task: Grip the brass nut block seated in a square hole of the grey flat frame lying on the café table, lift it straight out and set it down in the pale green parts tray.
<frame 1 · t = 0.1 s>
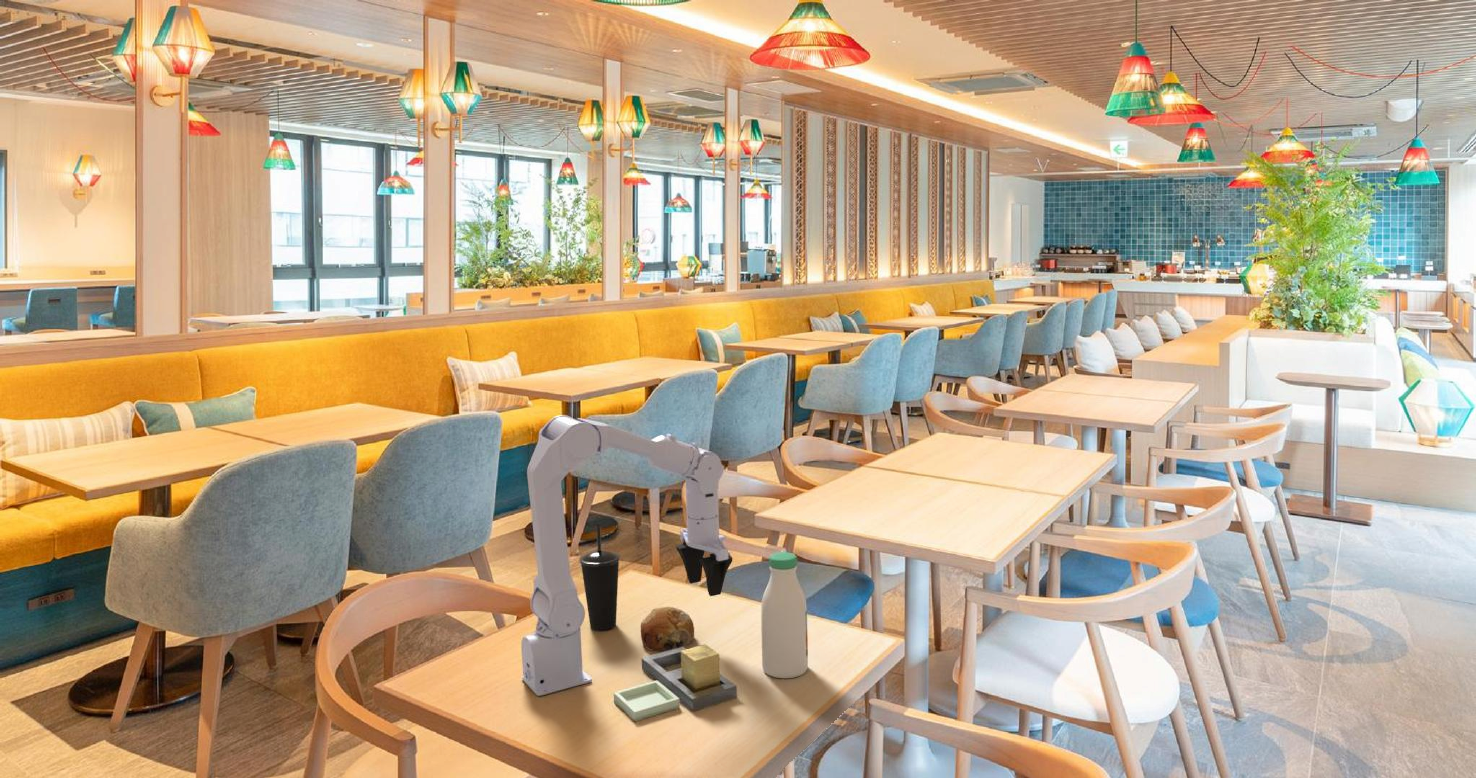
hand: (704, 588, 171), 10 cm above the table, tool pointing down, fingers open, 7 cm apart
drinking cup: (603, 627, 181), on the table
tray: (646, 704, 149), on the table
milk bottle: (785, 670, 160), on the table
bread roll: (667, 642, 173), on the table
grey flat frame: (687, 682, 156), on the table
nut: (701, 693, 153), resting in grey flat frame
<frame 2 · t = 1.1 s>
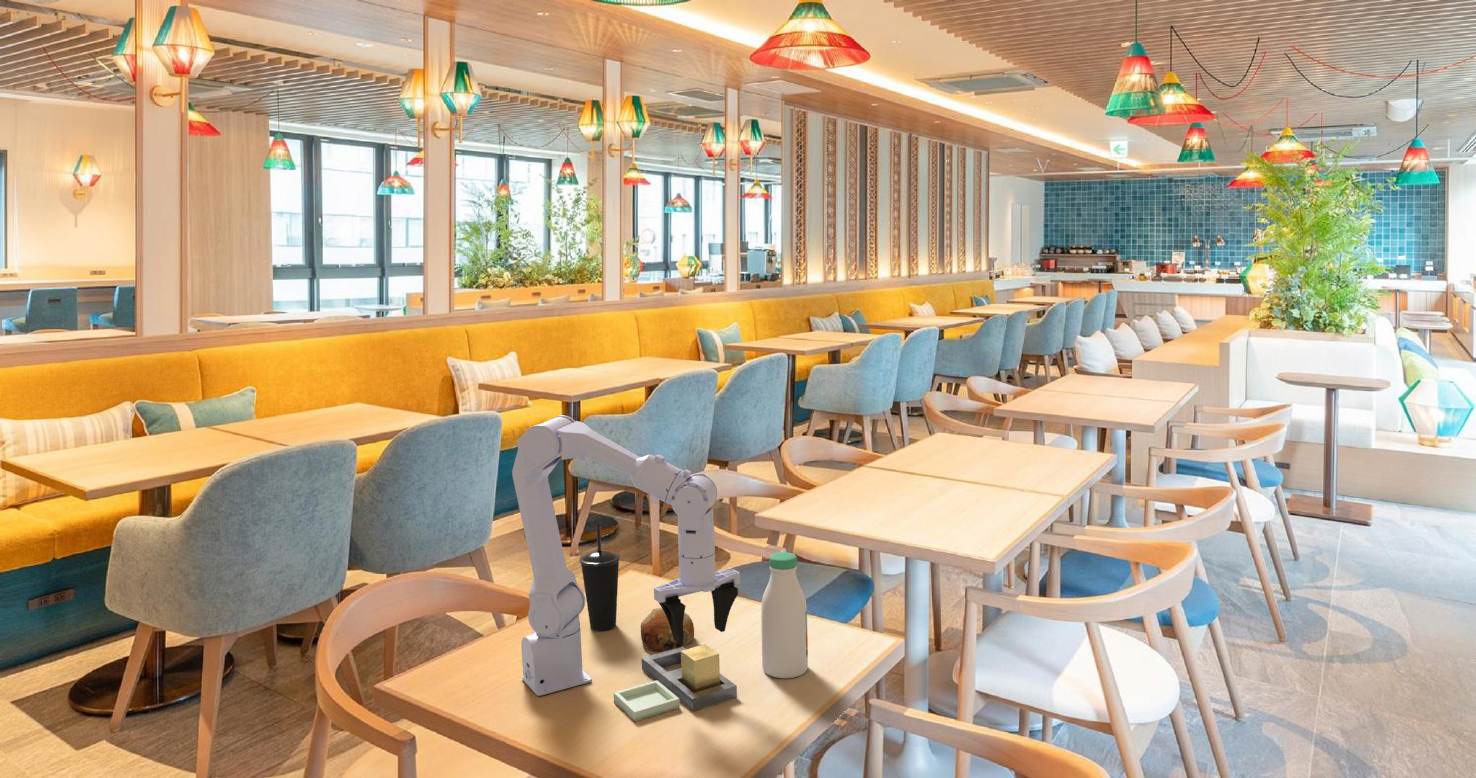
hand: (699, 635, 151), 10 cm above the table, tool pointing down, fingers open, 7 cm apart
nothing on the table moved.
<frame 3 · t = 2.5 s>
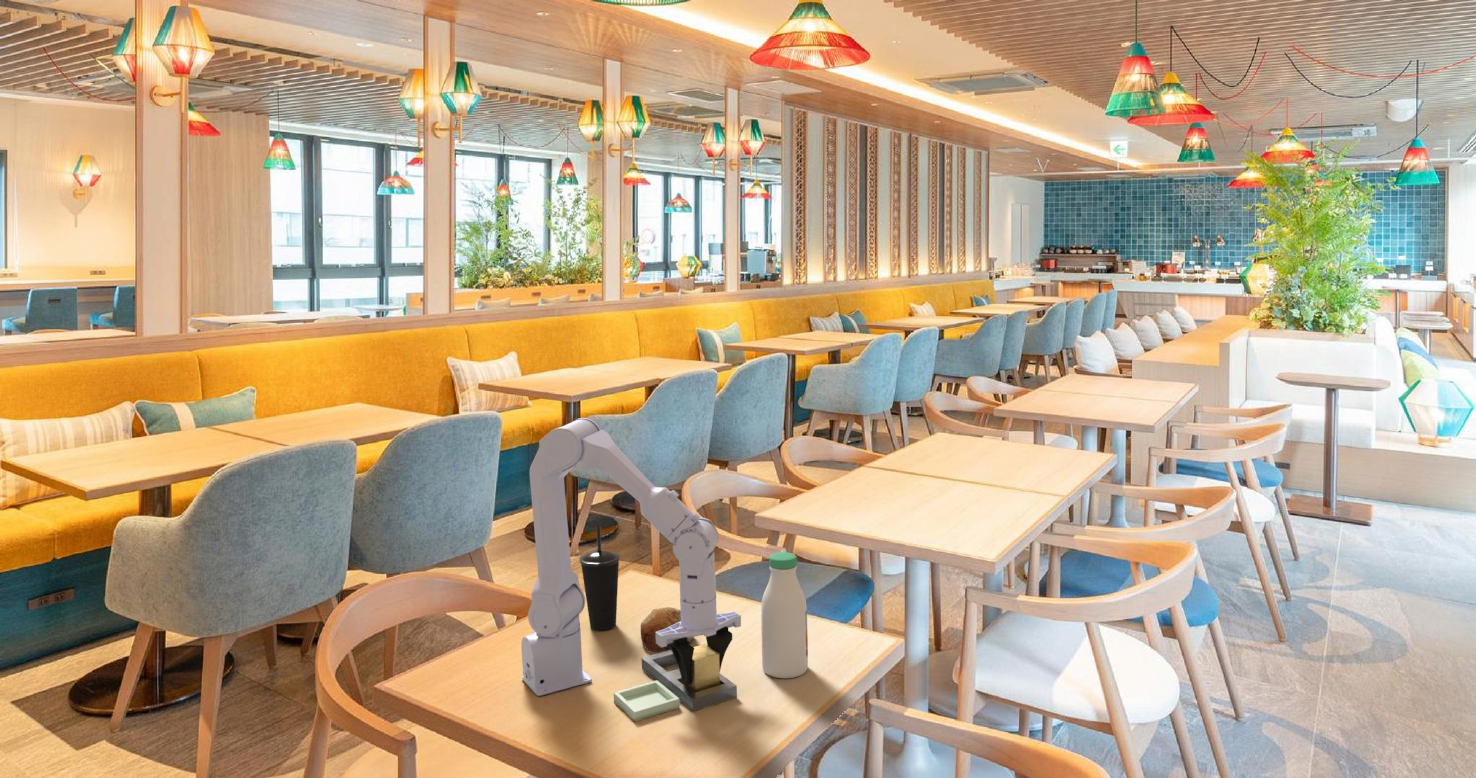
hand: (700, 677, 152), 3 cm above the table, tool pointing down, fingers closed on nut, 4 cm apart
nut: (701, 693, 153), resting in grey flat frame, touching gripper
everything else where it was.
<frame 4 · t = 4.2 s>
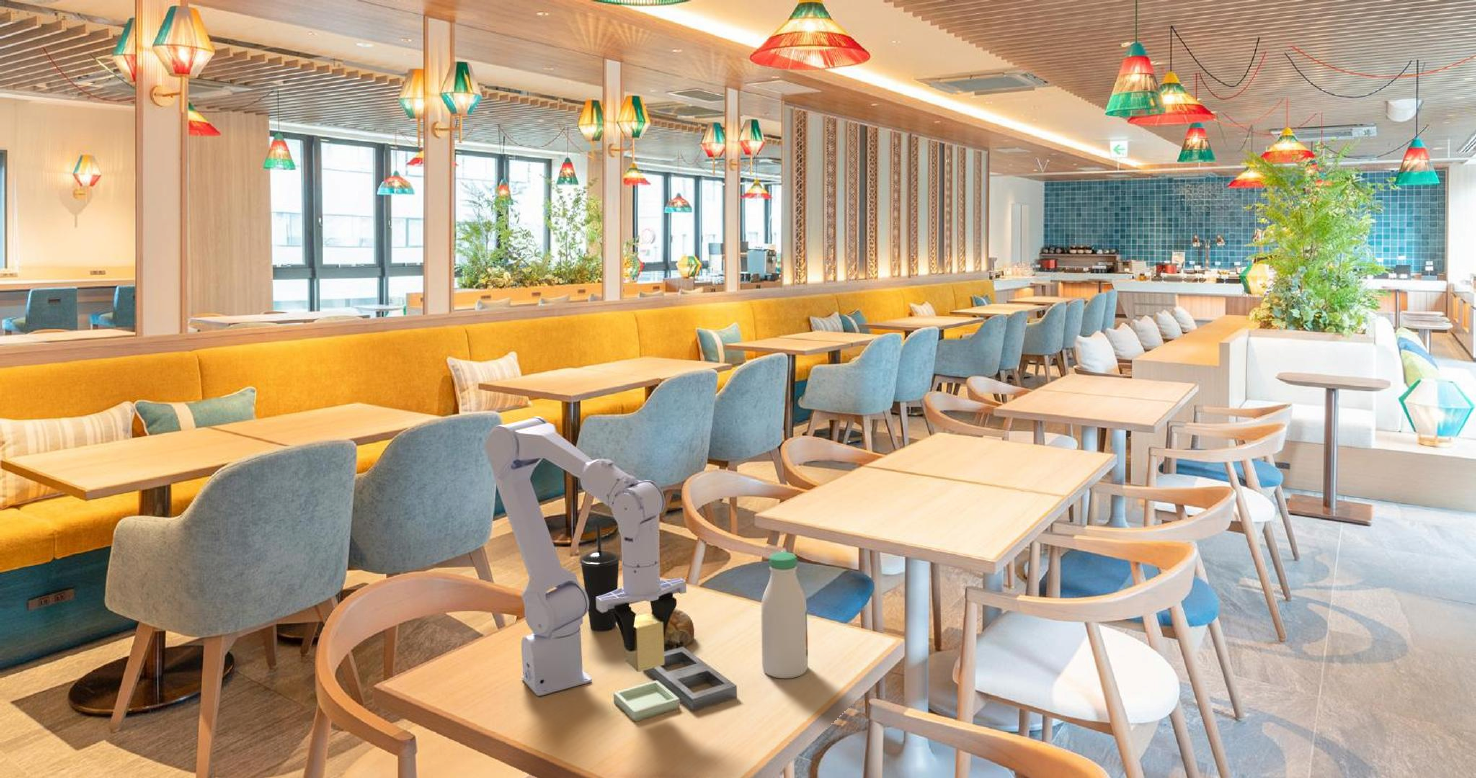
hand: (644, 645, 148), 10 cm above the table, tool pointing down, fingers closed on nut, 4 cm apart
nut: (645, 662, 148), point 7 cm above the table, touching gripper
everything else where it was.
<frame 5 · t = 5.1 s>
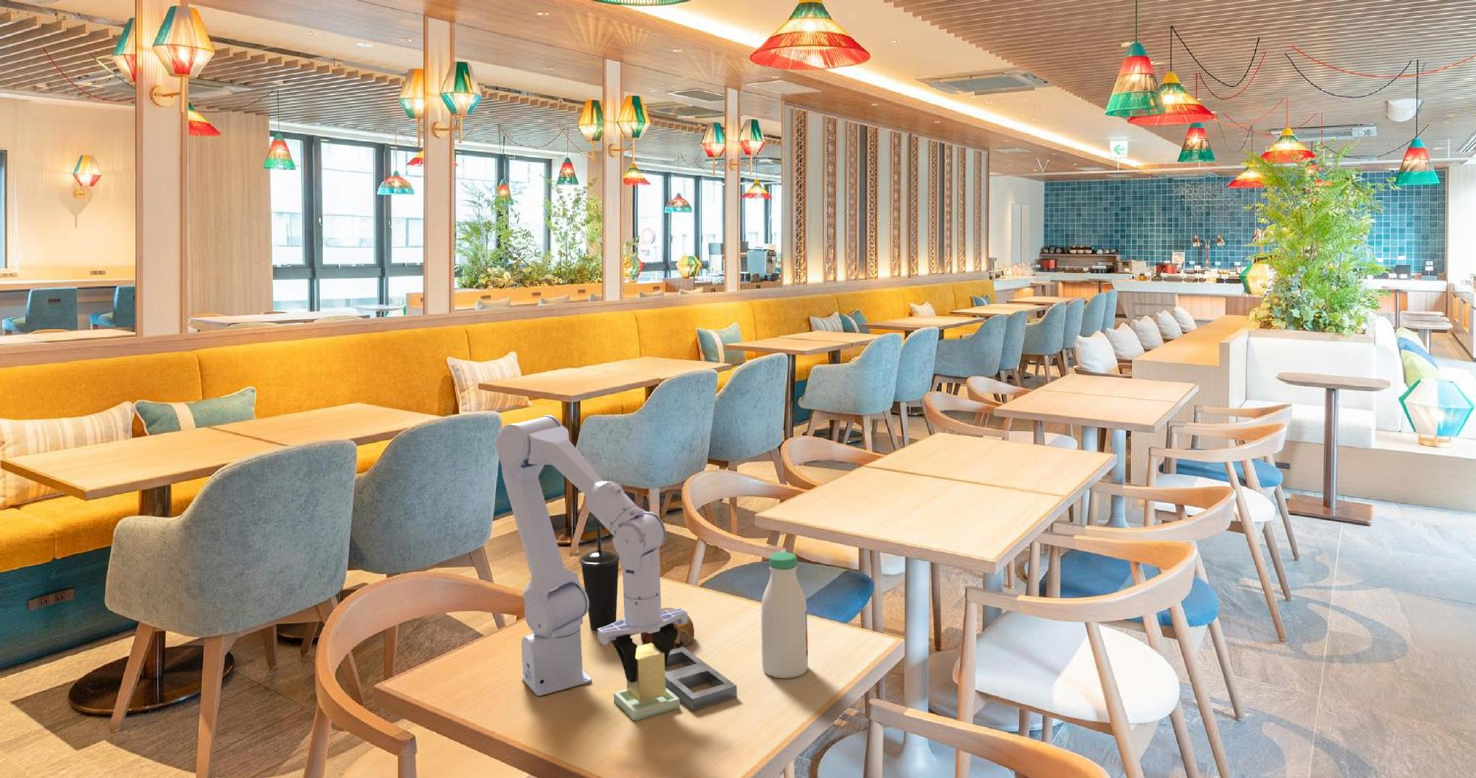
hand: (645, 675, 148), 5 cm above the table, tool pointing down, fingers closed on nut, 4 cm apart
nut: (646, 693, 149), point 2 cm above the table, touching gripper
everything else where it was.
when the fingers open (5 cm above the table, at t = 6.0 s): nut drops 1 cm, resting on tray.
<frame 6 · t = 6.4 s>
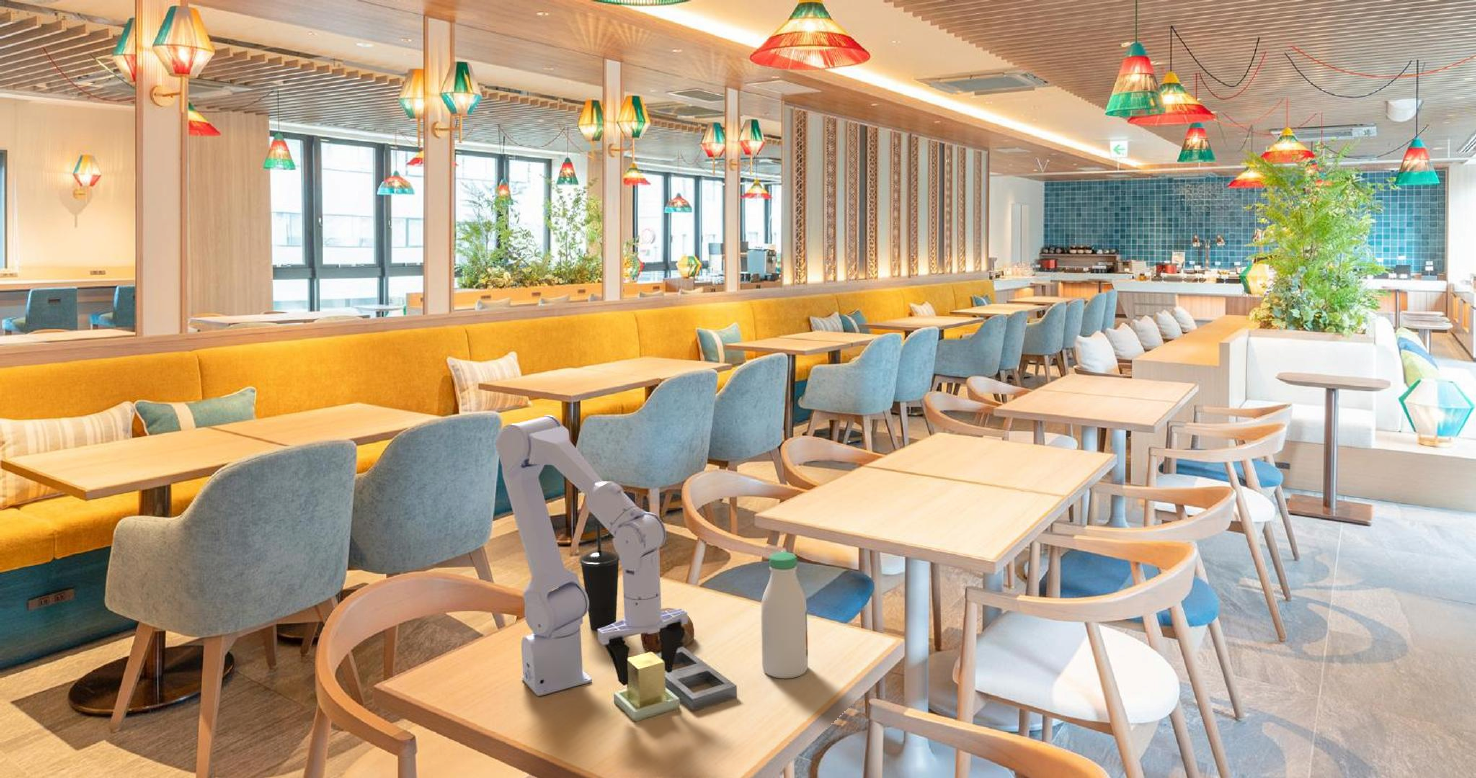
hand: (645, 676, 148), 5 cm above the table, tool pointing down, fingers open, 7 cm apart
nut: (646, 702, 149), resting on tray
everything else where it was.
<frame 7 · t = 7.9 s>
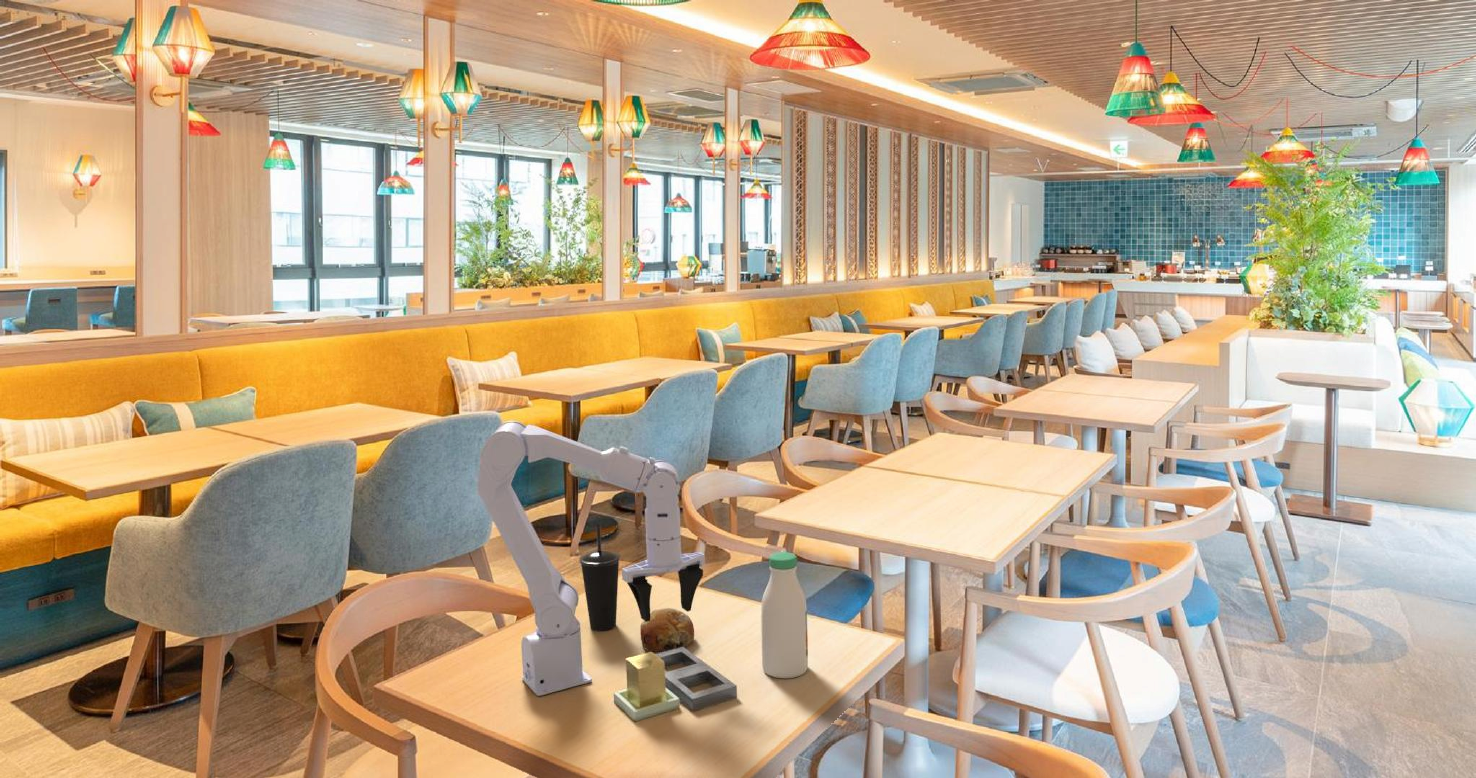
hand: (666, 614, 159), 10 cm above the table, tool pointing down, fingers open, 7 cm apart
nothing on the table moved.
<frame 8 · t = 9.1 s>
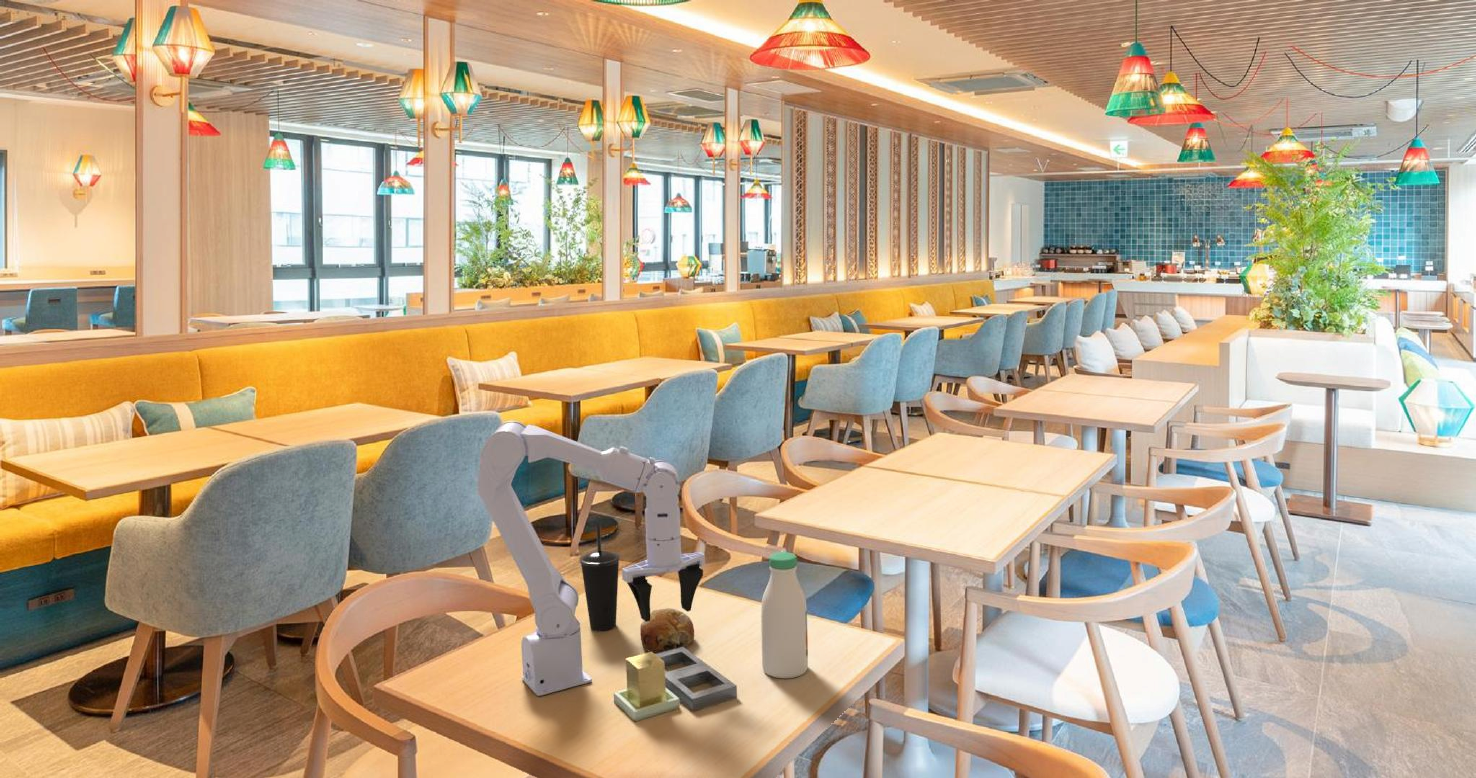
hand: (666, 614, 159), 10 cm above the table, tool pointing down, fingers open, 7 cm apart
nothing on the table moved.
at the end: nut 0.0 cm off-centre on the tray, point 0.4 cm above the tray's base; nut tilted 0°; the gripper is holding nothing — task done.
